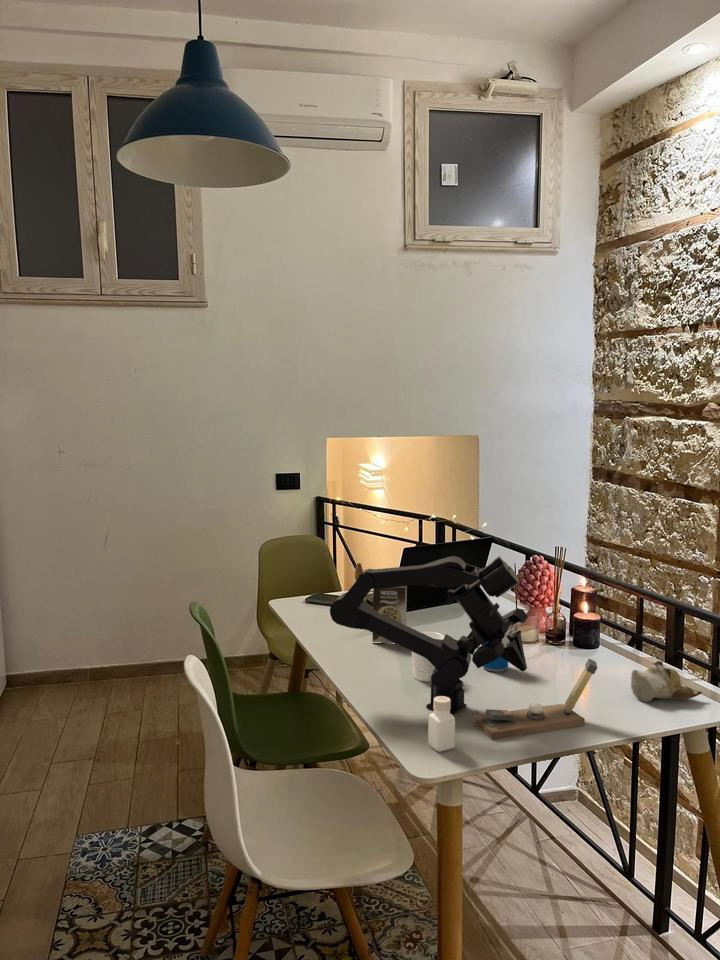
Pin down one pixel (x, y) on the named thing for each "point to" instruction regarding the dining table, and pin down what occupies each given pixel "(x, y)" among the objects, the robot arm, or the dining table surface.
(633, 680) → the ceramic sculpture
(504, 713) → the rocker switch
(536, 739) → the dining table surface
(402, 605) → the coffee box
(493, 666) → the beverage can
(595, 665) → the tan capped bar
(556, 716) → the switch panel
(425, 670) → the white cup
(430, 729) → the white pill bottle
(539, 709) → the push button
